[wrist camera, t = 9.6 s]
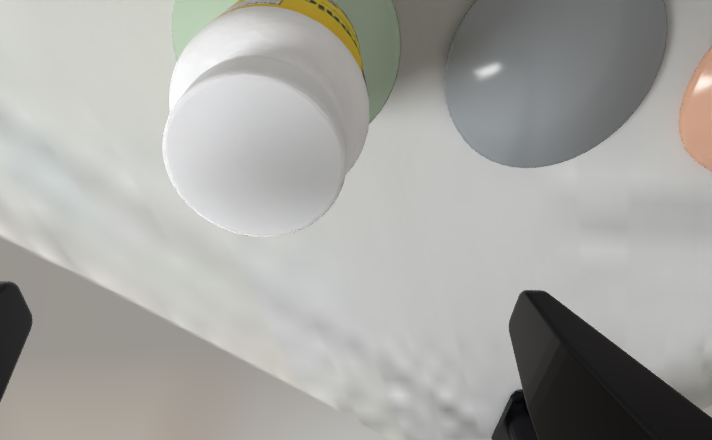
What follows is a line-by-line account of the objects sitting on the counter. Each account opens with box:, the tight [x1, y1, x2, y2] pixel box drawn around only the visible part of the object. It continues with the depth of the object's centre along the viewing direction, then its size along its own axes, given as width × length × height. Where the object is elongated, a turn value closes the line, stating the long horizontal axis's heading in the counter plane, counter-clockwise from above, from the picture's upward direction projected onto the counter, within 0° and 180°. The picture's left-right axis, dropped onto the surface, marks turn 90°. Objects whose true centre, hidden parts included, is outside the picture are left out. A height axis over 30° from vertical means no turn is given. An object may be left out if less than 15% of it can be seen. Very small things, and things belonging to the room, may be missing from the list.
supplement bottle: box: [163, 0, 369, 237], centre depth 14 cm, size 5×5×10 cm
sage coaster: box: [172, 0, 400, 123], centre depth 18 cm, size 9×9×1 cm
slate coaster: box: [445, 0, 667, 168], centre depth 19 cm, size 9×9×1 cm
